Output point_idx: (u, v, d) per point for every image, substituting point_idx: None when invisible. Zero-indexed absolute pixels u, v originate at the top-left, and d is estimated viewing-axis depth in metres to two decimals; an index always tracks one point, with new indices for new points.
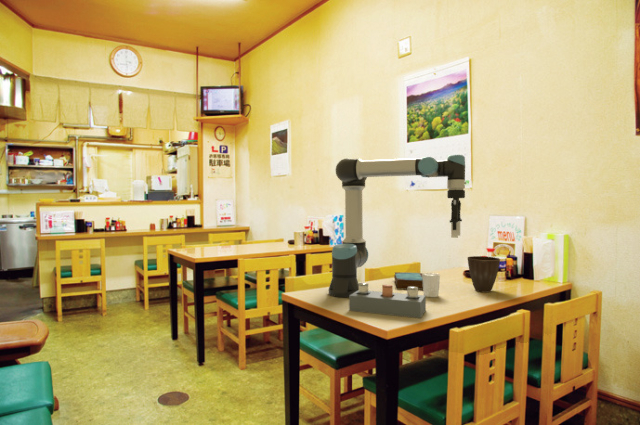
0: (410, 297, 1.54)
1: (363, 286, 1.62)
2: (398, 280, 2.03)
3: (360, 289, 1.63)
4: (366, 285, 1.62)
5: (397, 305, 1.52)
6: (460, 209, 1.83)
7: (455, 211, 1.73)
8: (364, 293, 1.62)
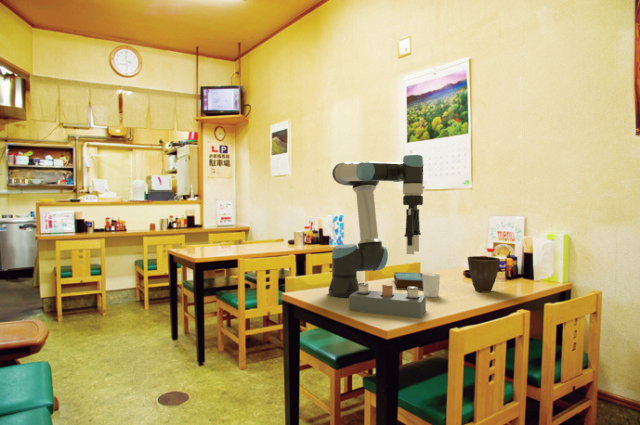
0: (410, 297, 1.54)
1: (363, 286, 1.62)
2: (398, 280, 2.03)
3: (360, 289, 1.63)
4: (366, 285, 1.62)
5: (397, 305, 1.52)
6: (418, 218, 1.57)
7: (410, 223, 1.49)
8: (364, 293, 1.62)
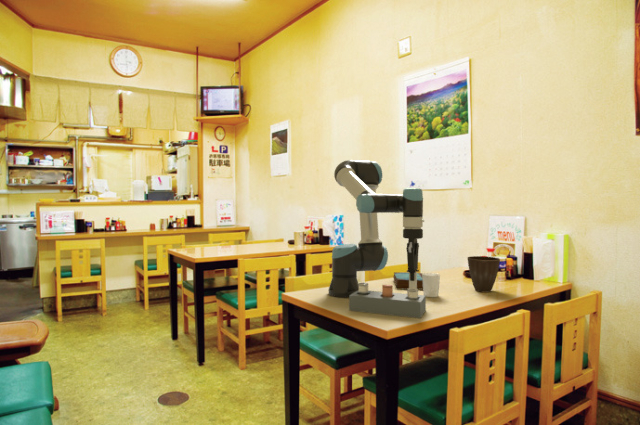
0: None
1: (363, 286, 1.62)
2: (398, 280, 2.03)
3: (360, 289, 1.63)
4: (366, 285, 1.62)
5: (397, 305, 1.52)
6: (417, 252, 1.56)
7: (411, 261, 1.51)
8: (364, 293, 1.62)
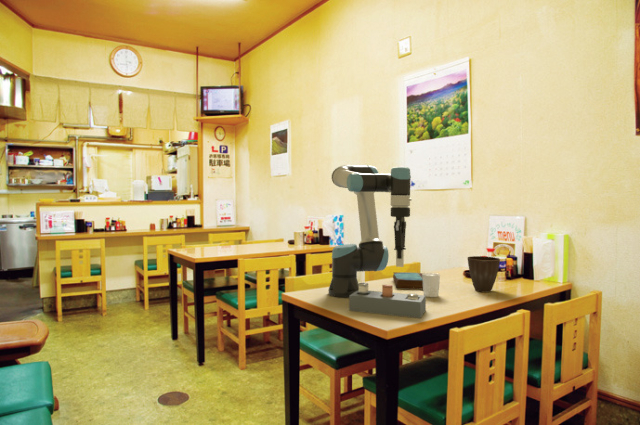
0: None
1: (363, 286, 1.62)
2: (398, 280, 2.03)
3: (360, 289, 1.63)
4: (366, 285, 1.62)
5: (397, 305, 1.52)
6: (404, 230, 1.58)
7: (398, 239, 1.54)
8: (364, 293, 1.62)
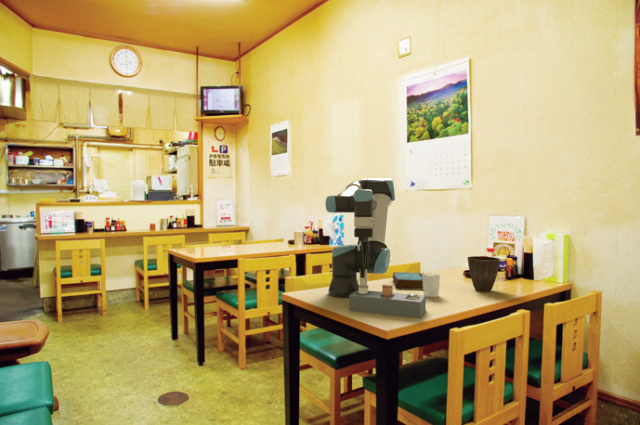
0: None
1: (363, 288, 1.62)
2: (398, 280, 2.03)
3: (360, 291, 1.63)
4: (366, 287, 1.62)
5: (397, 305, 1.52)
6: (367, 250, 1.64)
7: (361, 258, 1.59)
8: None
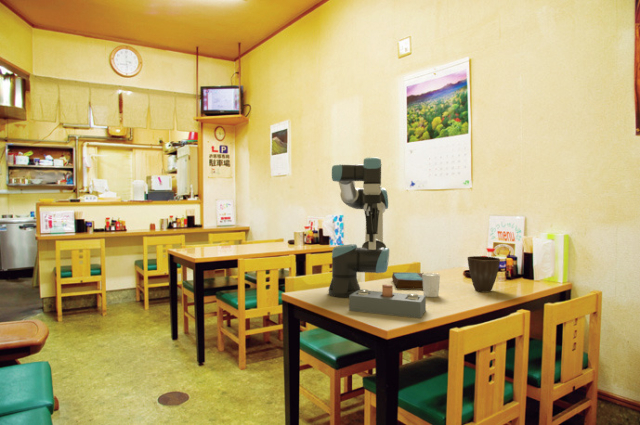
0: None
1: (363, 292, 1.62)
2: (398, 280, 2.03)
3: None
4: (366, 292, 1.62)
5: (397, 305, 1.52)
6: (376, 216, 1.71)
7: (369, 223, 1.67)
8: None
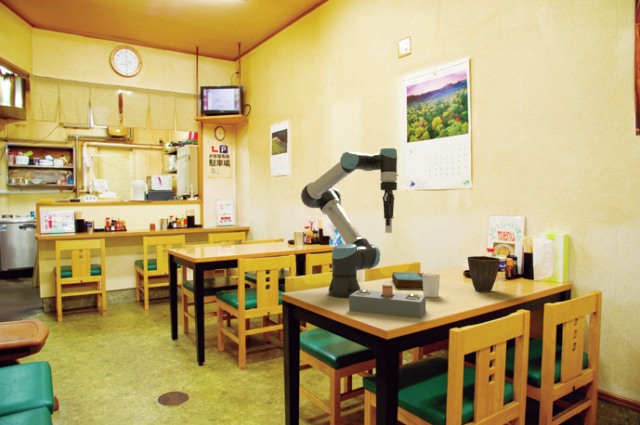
0: None
1: (363, 292, 1.62)
2: (398, 280, 2.03)
3: None
4: (366, 292, 1.62)
5: (397, 305, 1.52)
6: (392, 202, 1.86)
7: (387, 208, 1.81)
8: None
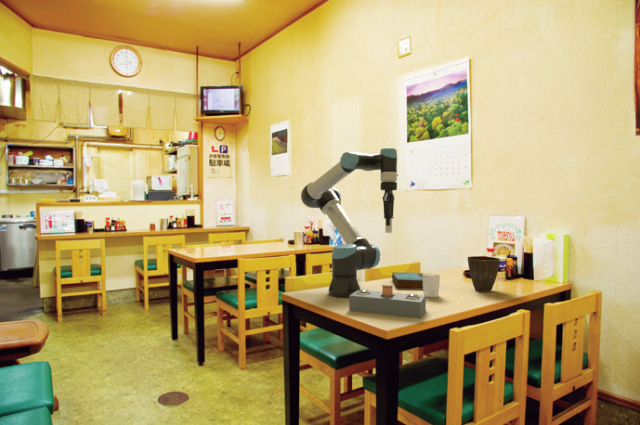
0: None
1: (363, 292, 1.62)
2: (398, 280, 2.03)
3: None
4: (366, 292, 1.62)
5: (397, 305, 1.52)
6: (392, 202, 1.86)
7: (387, 208, 1.81)
8: None
